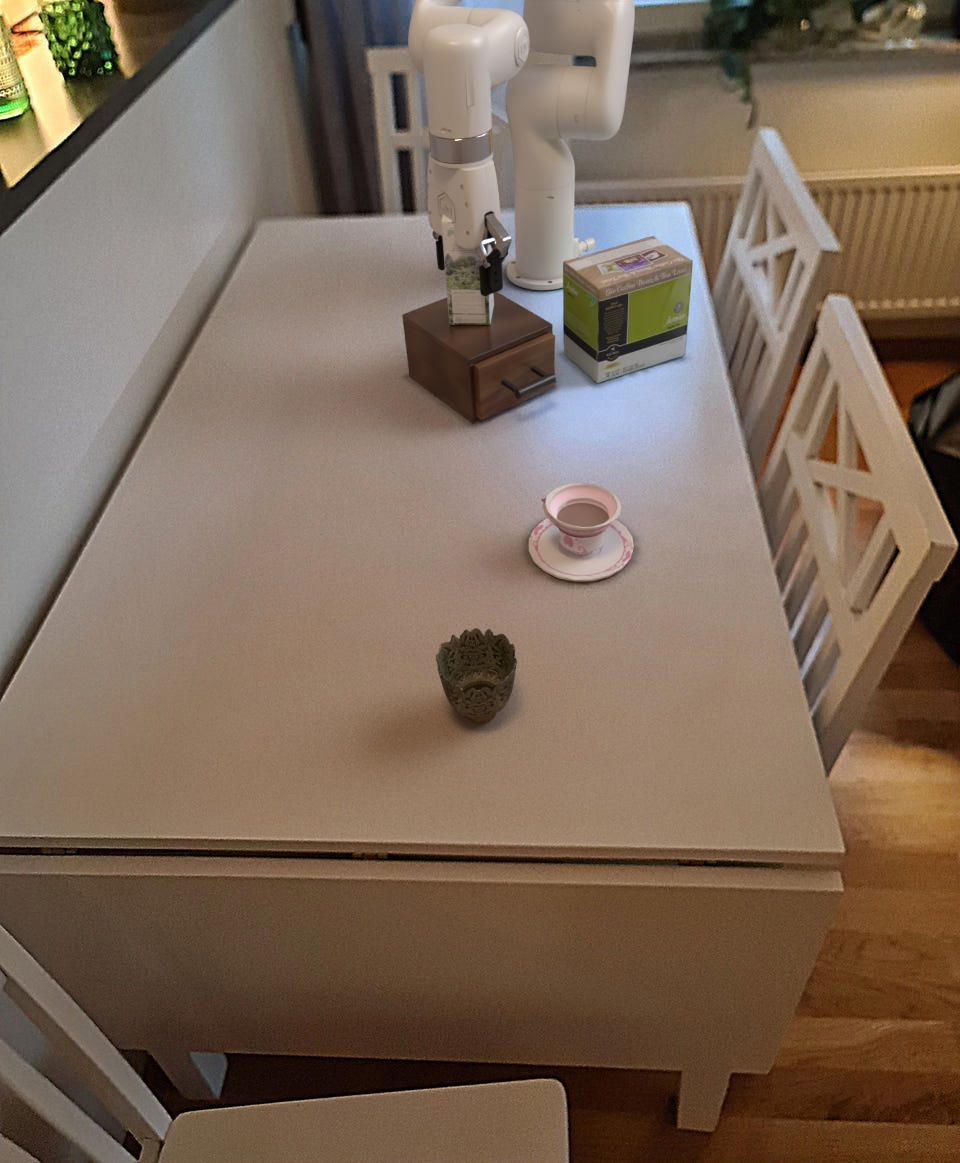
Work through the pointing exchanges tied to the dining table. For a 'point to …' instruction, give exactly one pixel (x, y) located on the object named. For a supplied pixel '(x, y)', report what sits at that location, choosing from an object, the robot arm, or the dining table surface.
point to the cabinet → (463, 347)
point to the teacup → (581, 534)
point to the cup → (477, 673)
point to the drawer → (514, 375)
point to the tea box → (626, 307)
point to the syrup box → (464, 281)
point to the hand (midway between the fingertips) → (469, 279)
